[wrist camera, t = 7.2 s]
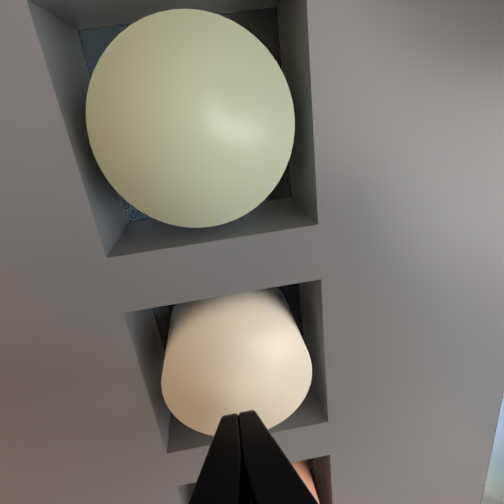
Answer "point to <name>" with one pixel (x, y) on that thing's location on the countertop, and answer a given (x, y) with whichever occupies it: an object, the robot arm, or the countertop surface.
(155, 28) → the sage button
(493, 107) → the panel
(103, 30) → the countertop surface
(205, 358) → the cream button
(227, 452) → the robot arm
